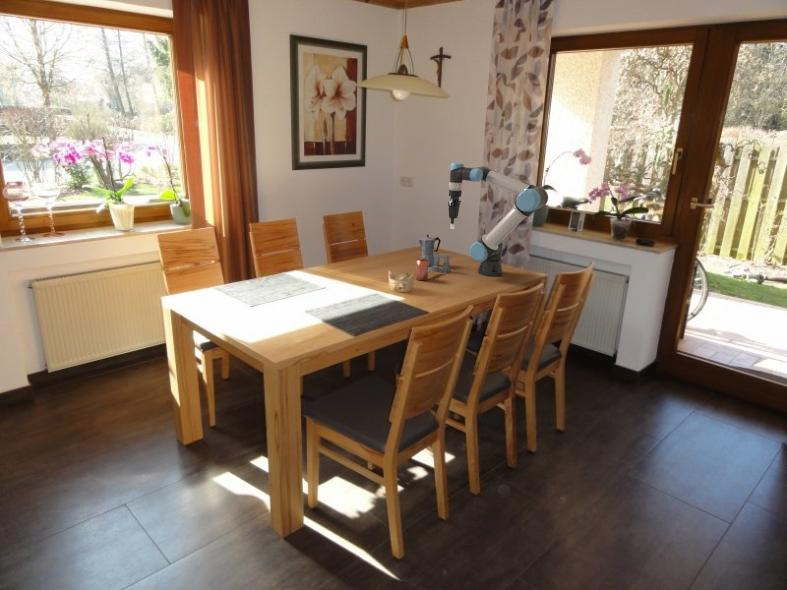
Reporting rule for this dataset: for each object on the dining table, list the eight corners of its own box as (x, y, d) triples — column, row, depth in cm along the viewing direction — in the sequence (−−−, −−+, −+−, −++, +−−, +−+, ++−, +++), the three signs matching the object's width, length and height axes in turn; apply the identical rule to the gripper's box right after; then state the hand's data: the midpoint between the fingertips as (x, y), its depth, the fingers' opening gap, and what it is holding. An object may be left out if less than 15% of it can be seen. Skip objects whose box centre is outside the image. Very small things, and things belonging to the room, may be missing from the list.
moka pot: (413, 264, 355) (415, 233, 349) (434, 262, 361) (436, 232, 355) (420, 268, 347) (422, 236, 341) (442, 266, 353) (444, 235, 347)
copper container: (441, 273, 335) (442, 254, 331) (423, 280, 318) (425, 261, 314) (431, 271, 338) (432, 252, 335) (413, 278, 321) (414, 259, 317)
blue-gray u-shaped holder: (450, 271, 342) (451, 254, 338) (445, 273, 337) (447, 256, 334) (436, 268, 347) (437, 252, 343) (431, 270, 342) (432, 253, 339)
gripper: (454, 188, 335) (451, 226, 342) (444, 189, 324) (442, 229, 332) (465, 189, 331) (462, 228, 338) (456, 191, 321) (453, 231, 328)
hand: (452, 228), depth 335 cm, fingers closed
